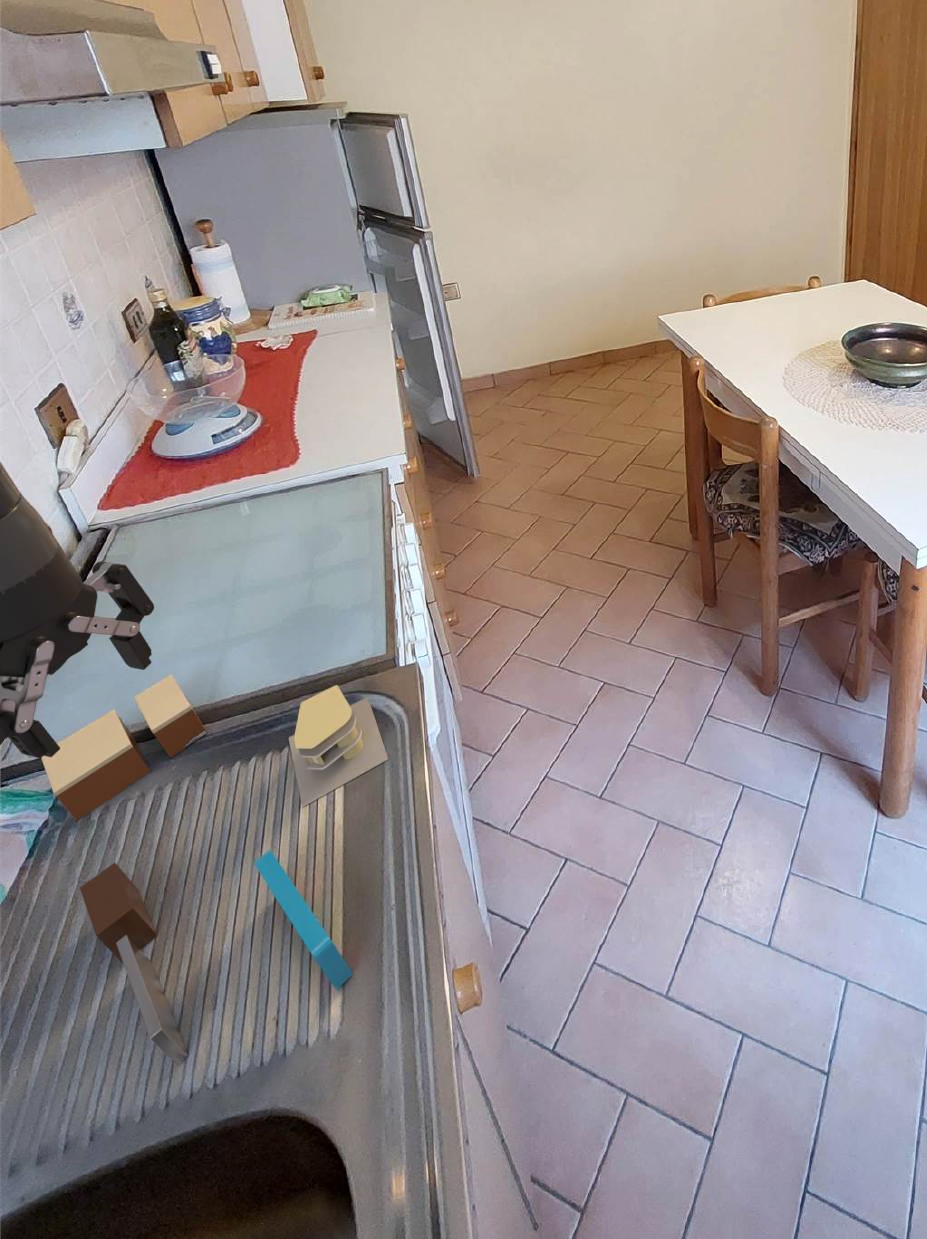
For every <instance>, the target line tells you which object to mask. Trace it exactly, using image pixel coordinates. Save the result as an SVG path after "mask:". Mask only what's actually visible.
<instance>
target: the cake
mask: <svg viewBox="0 0 927 1239" xmlns="http://www.w3.org/2000/svg"><path fill="white" fill-rule="evenodd" d="M56 743H57V744H58V746H59V747H60V750H59V751H58V752H57V753H56V754H54V755H53V756H52V757H47V756H43V757H42V758H41V759H40V760H41V761H42V764H43V767H44V770H45V773H46V776H47V779H48V781H49V784H50V788H51V790H52V792H53V794H54V796H55V797H56V799H58V800H59V802H60V803H61V804H62V806H64V808H65V809H66V810H67V811H68V812H69V814H70V815H71V816H72V817H73V818H74V820H76V821H80V820H81V819H83V818H84V817H85V816H87V815H89V814H90V813H91V812H93V811H94V810H96V809H97V808H99V807H100V806H102V805H103V804H105V803H107V802H108V801H109V800H111V799H112V798H114V797H116V795H118V794H120V793H121V792H123V791H124V790H126V789H127V788H128V787H131V785H133V784H134V783H136V782H138V781H140V780H141V779H142V778H144V777H146V776H147V775H148V774H149V773H151V771H152V770H151V769H150V767H149V765H148V763H147V760H146V759H145V757H144V755H143V754H141V753H142V751H141V749H140V747H139V745H138V743H137V741H136V738H135V737H134V735H133V734H132V732H131V731H130V730H129V728H128V726H127V725H126V723H125V722H124V721H123V719H121V717H120V715H119V714H118V713H117V711H116V710H115V709H112V710H110V711H108V712H106V713H105V714H103V715H101V716H100V717H98V718H97V719H95V720H94V721H92V722H90V723H88V724H87V725H85V726H83V727H81V729H78V730H77V731H75V732H73V733H72V734H70V735H68V736H67V737H65V738H64V739H62V740H60V741H59V742H56ZM138 747H139V748H138ZM139 749H140V750H139ZM140 751H141V752H140ZM142 755H143V756H142ZM143 757H144V758H143Z"/></svg>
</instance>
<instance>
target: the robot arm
mask: <svg viewBox="0 0 927 1239" xmlns="http://www.w3.org/2000/svg"><path fill="white" fill-rule="evenodd" d="M91 571H92V574H91V575H90V576H89V577H88V578H86V580H84V581H83V580H82V577H81V575H80V574H79V571H77V569H76V567H75V565H74V564H73V563H72V561H71V560H70V558H69V557H68V555H67V554H66V552H65V550H64V549H63V548H62V546H61V544H60V543H59V541H58V540H57V538H56V537H55V535H54V533H53V530H52V528H51V526H50V525H49V524H48V523H47V522H45V519H44V518H43V517H42V516H41V514H40V513H39V511H38V510H37V509H36V508H35V507H34V506H33V505H32V504H31V503H30V502H29V501H28V500H27V498H25V496H24V495H23V493H22V492H21V491H20V489H19V488H18V487H17V485H16V483H15V482H14V480H13V479H12V477H11V476H10V474H9V473H8V471H7V470H6V468H5V466H4V465H3V463H2V462H1V461H0V746H1V745H2V744H3V743H4V741H5V740H6V739H9V740H10V741H11V742H12V744H13V745H14V746H15V748H16V749H18V751H19V752H20V754H22V755H26V756H30V757H33V758H36V759H40V760H42V759H41V758H42V757H43V756H47V757H52V756H53V755H54V754H56V753H57V752H58V751H59V750H60V747H59V746H58V744H57V743H58V742H56V740H55V739H54V738H53V737H52V735H51V734H50V733H49V731H48V730H47V729H46V728H45V726H44V725H43V724H42V723H41V722H40V720H37V719H35V714H36V709H37V703H38V700H40V699H41V698H42V697H43V695H44V692H45V687H46V681H47V676H48V675H50V676H53V675H54V674H55V673H56V672H58V671H59V670H60V669H61V668H62V667H63V666H64V665H65V664H66V663H67V661H68V660H69V659H70V658H72V657H73V656H75V655H76V654H78V653H80V652H81V651H83V649H85V648H86V647H87V646H88V645H89V643H88V641H89V640H90V638H91V636H92V634H95V635H103V636H105V635H106V636H109V638H108V639H109V641H110V642H111V644H112V645H113V647H114V648H115V650H116V651H117V653H118V654H119V656H120V657H121V659H122V660H123V662H124V663H125V665H126V666H128V667H129V668H132V669H137V670H141V671H144V670H146V669H147V668H148V667H149V666H150V665H151V664H152V659H150V657H151V656H152V654H153V653H152V648H151V646H150V645H149V643H148V642H147V641H146V639H145V637H144V635H143V633H142V632H141V631H140V630H141V625H140V624H141V622H142V620H143V619H144V618H145V617H147V616H150V615H151V614H152V613H153V611H154V610H155V604H154V603H153V601H152V600H151V599H150V597H149V596H148V594H147V593H146V591H145V590H144V588H143V587H142V586H141V584H140V583H139V582H138V580H137V579H136V577H135V576H134V575H133V572H131V570H130V568H129V567H128V566H127V565H126V564H123V563H122V564H121V563H115V562H111V561H104V560H99V561H97V562H95V564H94V565H93V566H92V570H91ZM98 592H101V593H107V594H108V595H109V596H110V598H111V599H112V600H113V602H114V603H115V604H116V606H117V607H118V608H119V610H120V611H119V613H118V615H117V616H116V617H115V618H113V617H104V616H96V615H95V614H96V608H97V601H98ZM19 678H21V679H24V680H23V684H21V683H20V681H19Z"/></svg>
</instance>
